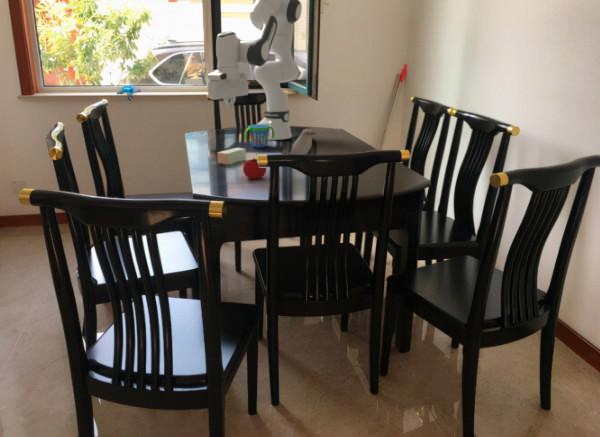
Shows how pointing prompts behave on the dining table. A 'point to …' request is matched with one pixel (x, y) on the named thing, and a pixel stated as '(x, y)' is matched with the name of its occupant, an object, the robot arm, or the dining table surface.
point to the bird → (303, 142)
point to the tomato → (253, 169)
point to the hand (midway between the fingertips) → (230, 108)
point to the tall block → (231, 155)
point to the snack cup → (258, 135)
